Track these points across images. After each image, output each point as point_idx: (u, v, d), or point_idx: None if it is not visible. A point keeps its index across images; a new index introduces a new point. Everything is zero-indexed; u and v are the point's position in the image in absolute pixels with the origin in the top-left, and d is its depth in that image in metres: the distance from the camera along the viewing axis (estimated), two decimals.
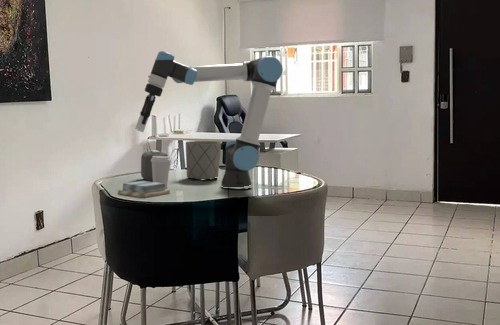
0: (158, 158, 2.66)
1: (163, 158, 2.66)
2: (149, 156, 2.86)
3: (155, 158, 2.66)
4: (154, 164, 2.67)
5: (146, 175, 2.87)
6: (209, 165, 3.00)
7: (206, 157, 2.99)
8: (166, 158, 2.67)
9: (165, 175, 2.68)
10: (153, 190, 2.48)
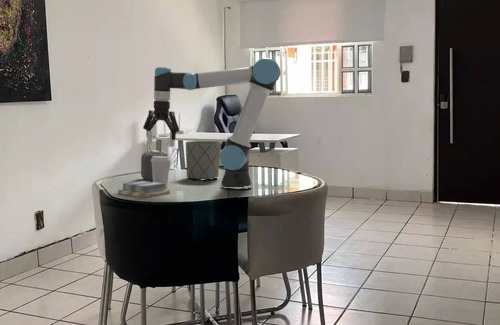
0: (158, 158, 2.66)
1: (163, 158, 2.66)
2: (149, 156, 2.86)
3: (155, 158, 2.66)
4: (154, 164, 2.67)
5: (146, 175, 2.87)
6: (209, 165, 3.00)
7: (206, 157, 2.99)
8: (166, 158, 2.67)
9: (165, 175, 2.68)
10: (153, 190, 2.48)
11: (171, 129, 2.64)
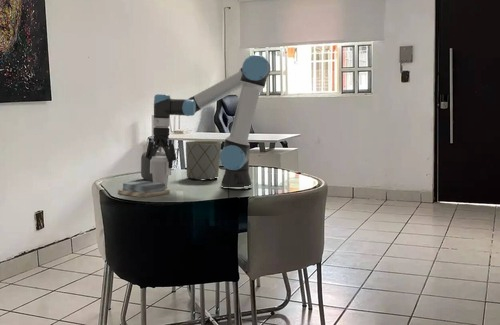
0: (158, 158, 2.66)
1: (163, 158, 2.66)
2: None
3: (155, 158, 2.66)
4: (154, 164, 2.67)
5: (146, 175, 2.87)
6: (209, 165, 3.00)
7: (206, 157, 2.99)
8: (166, 158, 2.67)
9: (165, 175, 2.68)
10: (153, 190, 2.48)
11: (168, 158, 2.66)
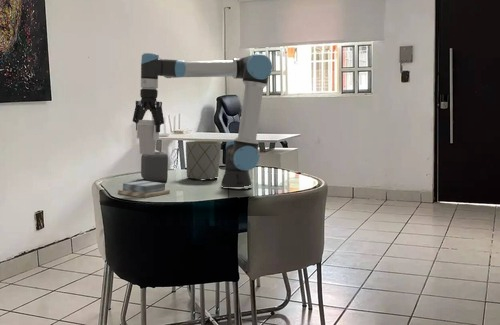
0: (145, 121, 2.50)
1: (150, 121, 2.50)
2: (149, 156, 2.86)
3: (141, 121, 2.50)
4: (140, 127, 2.50)
5: (146, 175, 2.87)
6: (209, 165, 3.00)
7: (206, 157, 2.99)
8: (153, 121, 2.51)
9: (152, 140, 2.52)
10: (153, 190, 2.48)
11: (156, 121, 2.49)
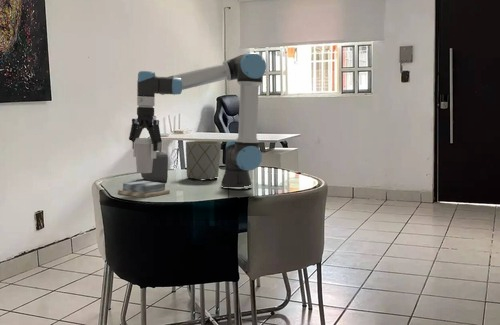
0: (142, 140, 2.46)
1: (147, 140, 2.47)
2: None
3: (138, 140, 2.47)
4: (137, 146, 2.47)
5: (146, 175, 2.87)
6: (209, 165, 3.00)
7: (206, 157, 2.99)
8: (150, 140, 2.48)
9: (149, 158, 2.49)
10: (153, 190, 2.48)
11: (153, 140, 2.46)
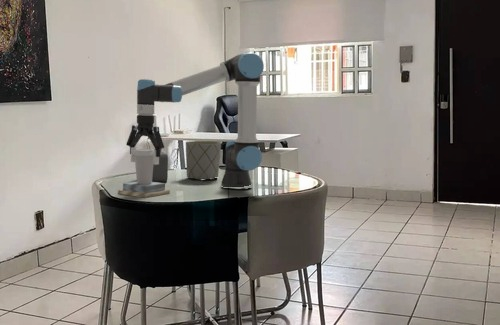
0: (141, 151, 2.47)
1: (146, 151, 2.47)
2: None
3: (138, 151, 2.47)
4: (137, 158, 2.47)
5: None
6: (209, 165, 3.00)
7: (206, 157, 2.99)
8: (150, 151, 2.48)
9: (149, 170, 2.49)
10: (153, 190, 2.48)
11: (155, 146, 2.46)
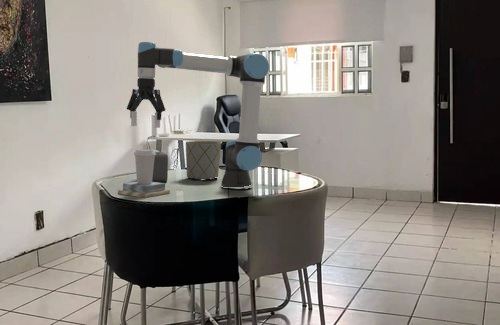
0: (142, 151, 2.47)
1: (147, 151, 2.47)
2: None
3: (139, 151, 2.47)
4: (138, 157, 2.48)
5: None
6: (209, 165, 3.00)
7: (206, 157, 2.99)
8: (150, 151, 2.48)
9: (149, 170, 2.49)
10: (153, 190, 2.48)
11: (156, 108, 2.44)
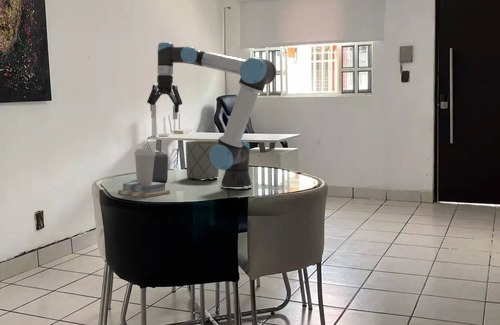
0: (142, 151, 2.47)
1: (147, 151, 2.47)
2: None
3: (139, 151, 2.47)
4: (138, 157, 2.48)
5: None
6: (209, 165, 3.00)
7: (206, 157, 2.99)
8: (150, 151, 2.48)
9: (149, 170, 2.49)
10: (153, 190, 2.48)
11: (174, 102, 2.73)
